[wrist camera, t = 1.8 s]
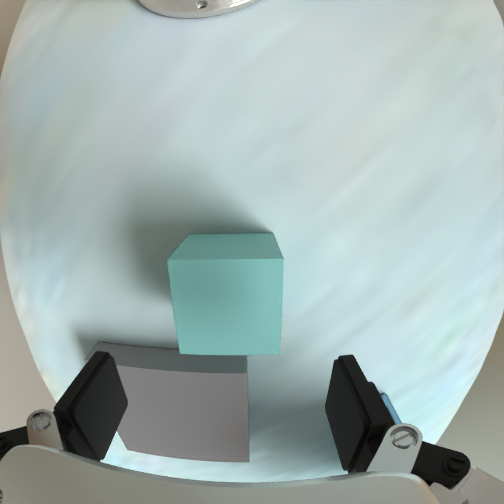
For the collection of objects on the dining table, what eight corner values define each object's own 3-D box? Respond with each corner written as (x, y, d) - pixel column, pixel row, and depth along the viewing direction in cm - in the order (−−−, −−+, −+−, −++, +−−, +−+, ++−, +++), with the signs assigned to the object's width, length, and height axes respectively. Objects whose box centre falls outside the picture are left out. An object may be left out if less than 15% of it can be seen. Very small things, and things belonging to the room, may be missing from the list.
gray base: (98, 341, 23) (84, 359, 20) (246, 350, 23) (246, 373, 20) (133, 432, 27) (127, 449, 24) (249, 442, 27) (249, 462, 24)
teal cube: (189, 234, 20) (167, 259, 14) (273, 232, 20) (283, 258, 14) (195, 308, 22) (180, 353, 16) (271, 308, 22) (279, 354, 16)
